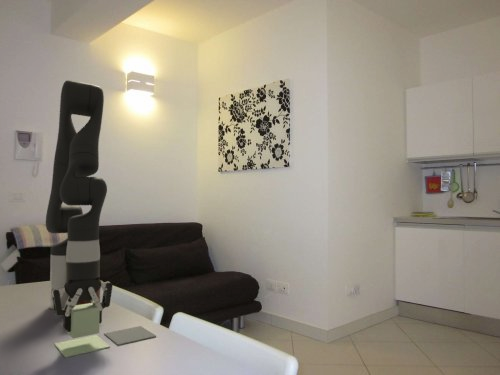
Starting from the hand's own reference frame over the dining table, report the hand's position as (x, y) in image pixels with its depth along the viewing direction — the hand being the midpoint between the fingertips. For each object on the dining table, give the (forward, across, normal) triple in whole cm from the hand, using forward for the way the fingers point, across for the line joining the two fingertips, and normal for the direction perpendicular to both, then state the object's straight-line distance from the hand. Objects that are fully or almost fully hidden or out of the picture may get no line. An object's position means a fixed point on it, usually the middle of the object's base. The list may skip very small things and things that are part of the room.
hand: (82, 328), depth 98 cm
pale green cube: (+1, 0, 0) cm, 1 cm away
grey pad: (+4, -12, 0) cm, 13 cm away
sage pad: (+4, 0, 0) cm, 4 cm away
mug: (+4, -7, -23) cm, 25 cm away
